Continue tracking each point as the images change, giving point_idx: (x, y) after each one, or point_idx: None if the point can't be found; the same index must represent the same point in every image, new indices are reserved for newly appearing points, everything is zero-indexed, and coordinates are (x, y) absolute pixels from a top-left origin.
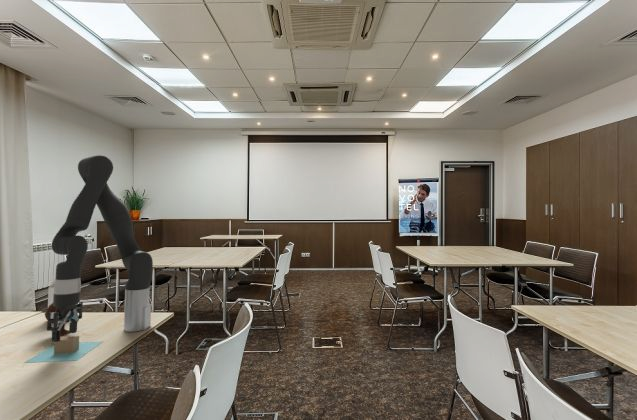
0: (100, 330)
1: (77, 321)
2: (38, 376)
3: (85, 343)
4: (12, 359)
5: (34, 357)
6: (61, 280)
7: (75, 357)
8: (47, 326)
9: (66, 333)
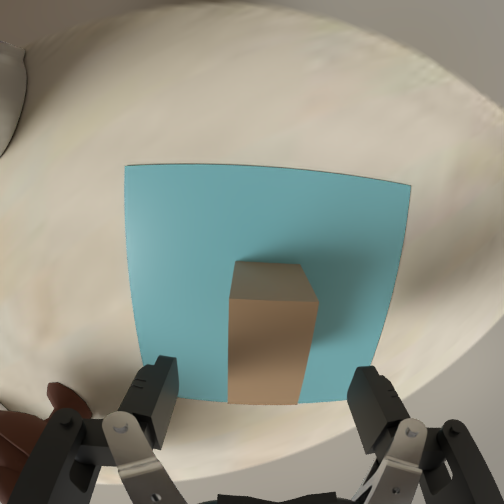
0: (7, 276)
1: (129, 417)
2: (491, 265)
3: (151, 263)
4: (307, 438)
5: (315, 396)
6: None
7: (374, 210)
8: (444, 475)
9: (66, 391)
